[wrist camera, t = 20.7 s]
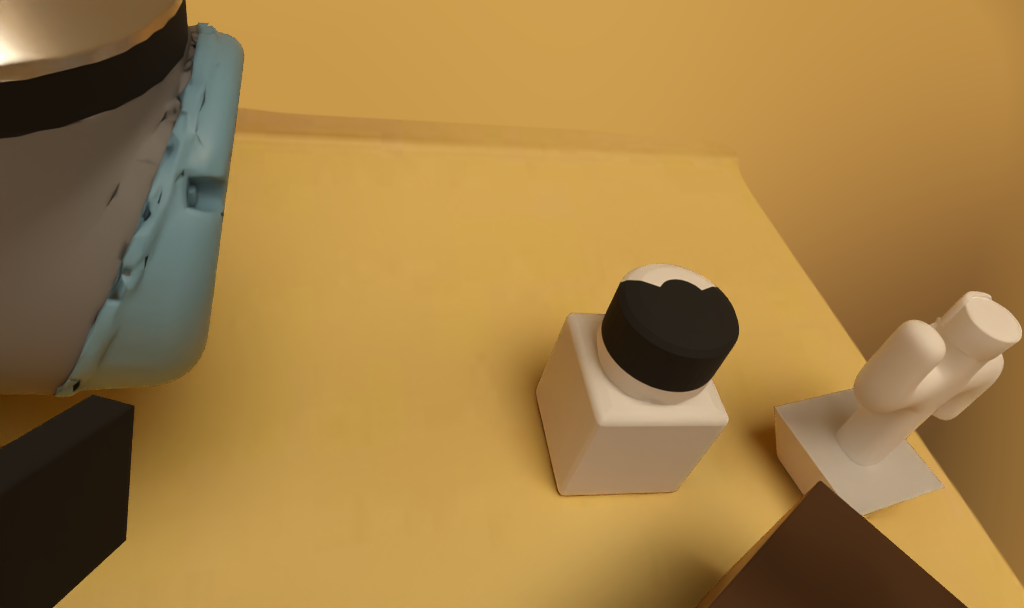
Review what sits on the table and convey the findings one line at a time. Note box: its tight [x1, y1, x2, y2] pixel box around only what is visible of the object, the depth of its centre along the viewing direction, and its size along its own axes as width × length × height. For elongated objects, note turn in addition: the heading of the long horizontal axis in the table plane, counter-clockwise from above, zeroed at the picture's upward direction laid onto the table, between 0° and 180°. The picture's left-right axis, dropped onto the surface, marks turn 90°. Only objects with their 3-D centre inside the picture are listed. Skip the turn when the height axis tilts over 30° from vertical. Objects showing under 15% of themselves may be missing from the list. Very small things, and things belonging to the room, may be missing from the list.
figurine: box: [774, 291, 1022, 516], centre depth 39 cm, size 7×9×15 cm
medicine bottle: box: [536, 264, 739, 496], centre depth 39 cm, size 7×7×12 cm
